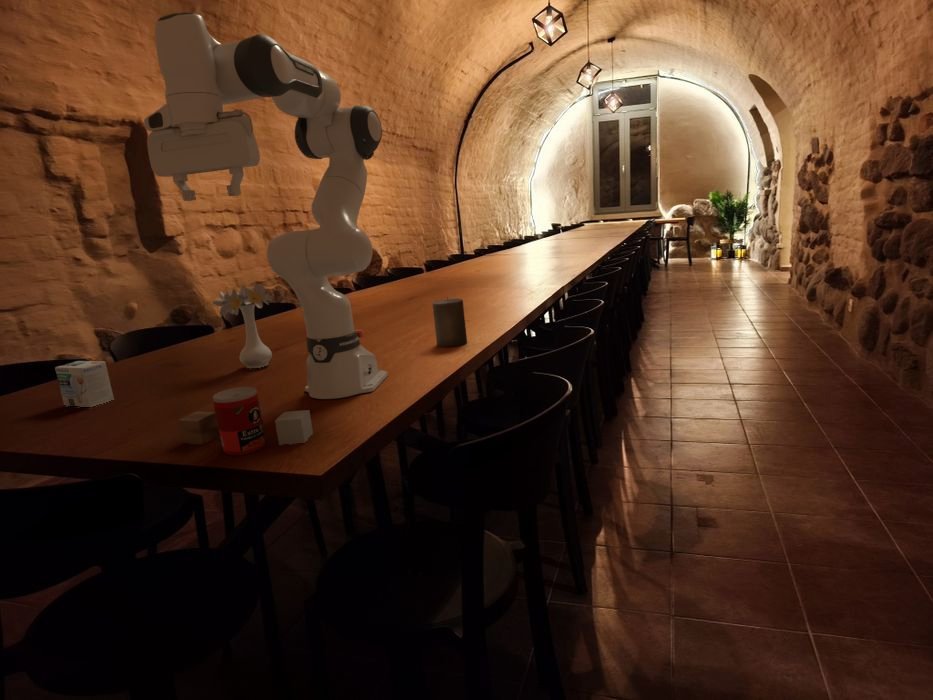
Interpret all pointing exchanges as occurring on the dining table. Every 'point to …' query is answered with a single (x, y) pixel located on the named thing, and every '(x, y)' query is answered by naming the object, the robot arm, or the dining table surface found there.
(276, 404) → the dining table surface
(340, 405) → the dining table surface
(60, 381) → the light bulb box
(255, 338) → the flower vase
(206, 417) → the walnut block
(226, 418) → the canned food
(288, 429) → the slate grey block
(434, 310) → the pillar candle
